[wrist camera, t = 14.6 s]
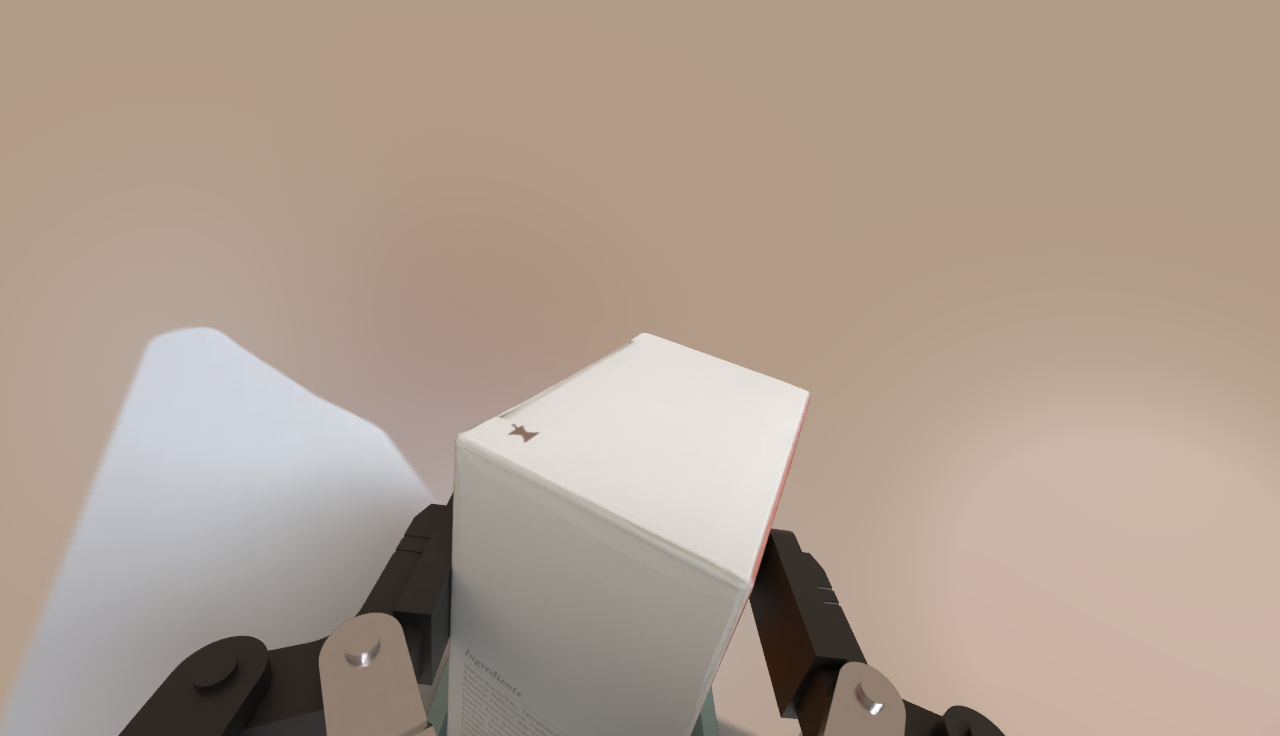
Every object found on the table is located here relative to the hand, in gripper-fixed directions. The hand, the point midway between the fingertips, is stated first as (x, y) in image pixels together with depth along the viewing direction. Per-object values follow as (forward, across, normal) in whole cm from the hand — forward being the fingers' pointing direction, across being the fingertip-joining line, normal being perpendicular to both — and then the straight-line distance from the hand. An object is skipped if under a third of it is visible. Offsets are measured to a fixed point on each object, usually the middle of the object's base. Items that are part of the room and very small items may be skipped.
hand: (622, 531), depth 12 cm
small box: (-1, 0, +6) cm, 6 cm away
